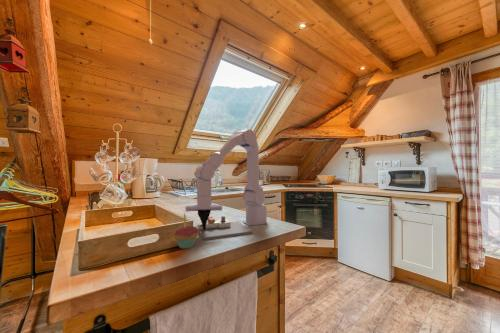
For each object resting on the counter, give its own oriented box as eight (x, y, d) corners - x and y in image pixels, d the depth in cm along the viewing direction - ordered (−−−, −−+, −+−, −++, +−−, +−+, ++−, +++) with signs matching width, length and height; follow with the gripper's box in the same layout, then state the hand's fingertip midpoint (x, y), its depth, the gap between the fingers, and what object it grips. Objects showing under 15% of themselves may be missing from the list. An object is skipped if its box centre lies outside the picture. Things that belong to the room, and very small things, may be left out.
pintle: (224, 225, 101) (224, 216, 101) (225, 226, 100) (225, 217, 99) (220, 226, 100) (220, 216, 100) (221, 227, 99) (222, 217, 99)
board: (238, 223, 108) (238, 221, 108) (252, 233, 94) (252, 231, 94) (195, 228, 100) (195, 226, 100) (203, 240, 85) (203, 237, 85)
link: (226, 223, 103) (226, 219, 103) (230, 226, 99) (230, 222, 99) (196, 227, 98) (196, 222, 98) (198, 230, 93) (198, 225, 93)
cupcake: (196, 250, 76) (196, 214, 75) (169, 251, 75) (169, 214, 75) (200, 241, 84) (200, 208, 84) (176, 241, 84) (176, 209, 83)
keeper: (211, 227, 102) (211, 216, 102) (215, 230, 97) (215, 218, 97) (207, 227, 101) (207, 216, 101) (210, 231, 96) (210, 219, 96)
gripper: (222, 193, 98) (222, 224, 99) (187, 193, 96) (187, 226, 97) (222, 196, 91) (222, 229, 92) (184, 196, 89) (184, 231, 90)
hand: (204, 228), depth 94 cm, fingers closed
